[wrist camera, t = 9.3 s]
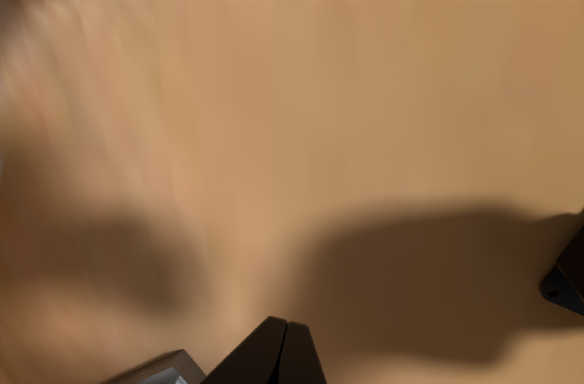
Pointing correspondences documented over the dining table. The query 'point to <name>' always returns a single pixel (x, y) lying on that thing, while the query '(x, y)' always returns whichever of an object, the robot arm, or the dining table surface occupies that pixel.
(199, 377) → the press rail
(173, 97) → the dining table surface
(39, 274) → the dining table surface
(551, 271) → the robot arm
